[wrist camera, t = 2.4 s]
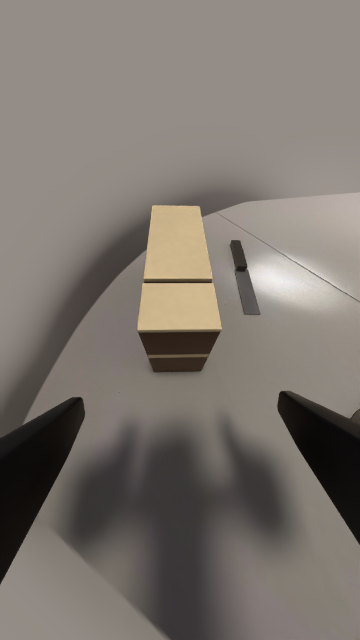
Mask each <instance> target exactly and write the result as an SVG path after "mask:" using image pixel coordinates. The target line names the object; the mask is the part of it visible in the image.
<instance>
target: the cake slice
mask: <svg viewBox="0 0 360 640" xmlns="http://www.w3.org/2000/svg"><path fill="white" fill-rule="evenodd" d="M221 330H222V327H221V321H220V316H219V310H218V305H217V300H216V294H215V289H214V283H143V286H142V294H141V302H140V310H139V318H138V326H137V331H138V333H139V336H140V338H141V341H142V343H143V346H144V348H145V351H146V353H147V356H148V358H149V361H150V363H151V366H152V368H153V371H154V372H180V371H201V370H202V368H203V366H204V364H205V362H206V360H207V358H208V356H209V354H210V352H211V350H212V348H213V346H214V344H215V342H216V340H217V338H218V335H219V333H220V331H221Z"/></svg>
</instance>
